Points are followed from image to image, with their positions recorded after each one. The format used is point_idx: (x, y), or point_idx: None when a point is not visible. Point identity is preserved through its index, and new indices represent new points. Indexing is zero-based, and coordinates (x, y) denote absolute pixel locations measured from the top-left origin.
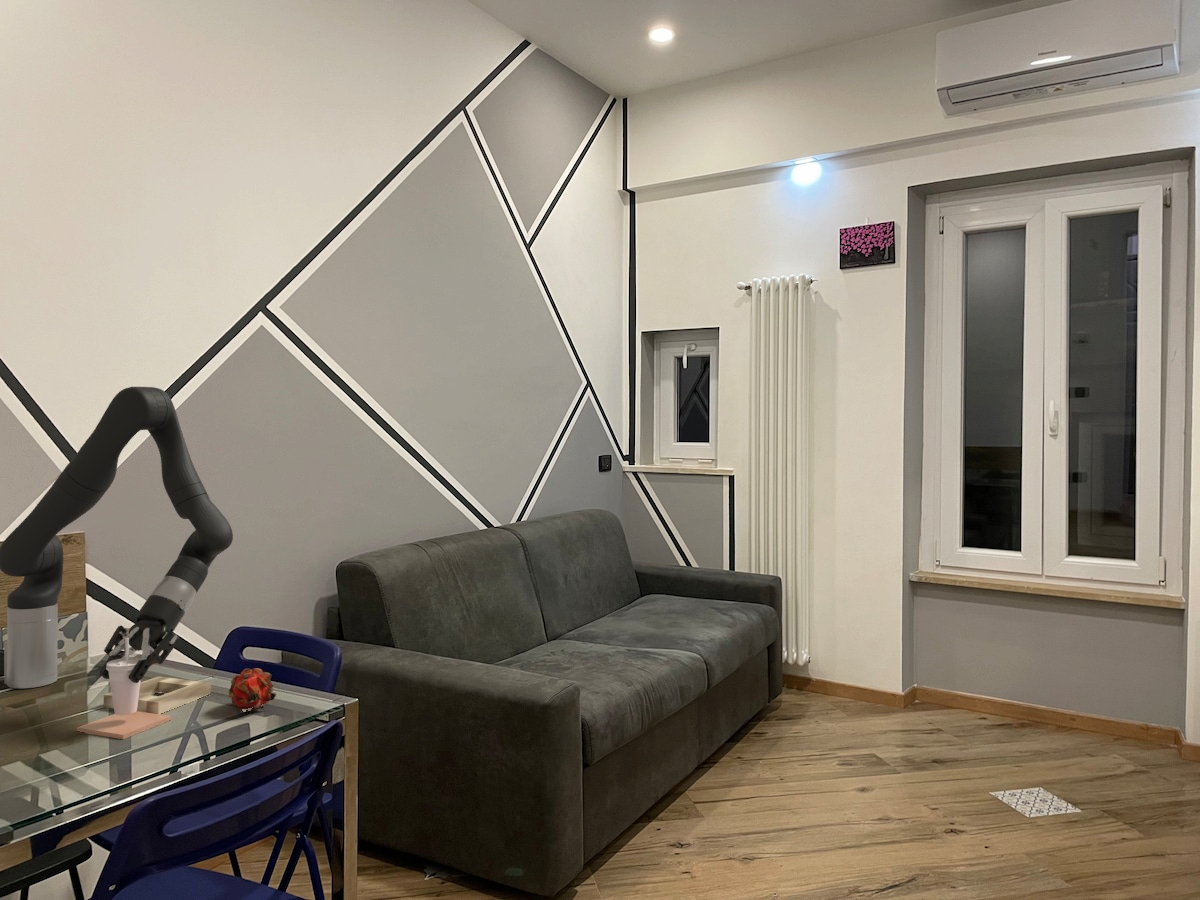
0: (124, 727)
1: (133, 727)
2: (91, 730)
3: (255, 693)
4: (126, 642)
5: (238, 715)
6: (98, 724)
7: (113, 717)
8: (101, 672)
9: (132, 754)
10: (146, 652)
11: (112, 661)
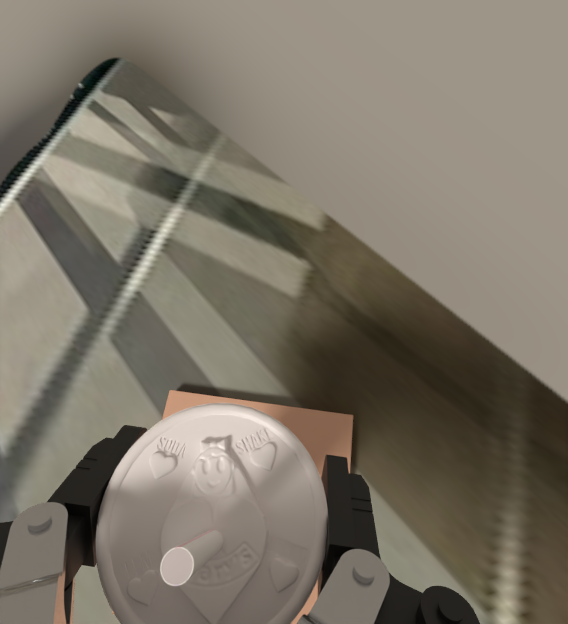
0: None
1: None
2: (294, 407)
3: None
4: (183, 543)
5: None
6: (311, 456)
7: None
8: (336, 456)
9: (84, 306)
10: (20, 559)
11: (312, 513)
